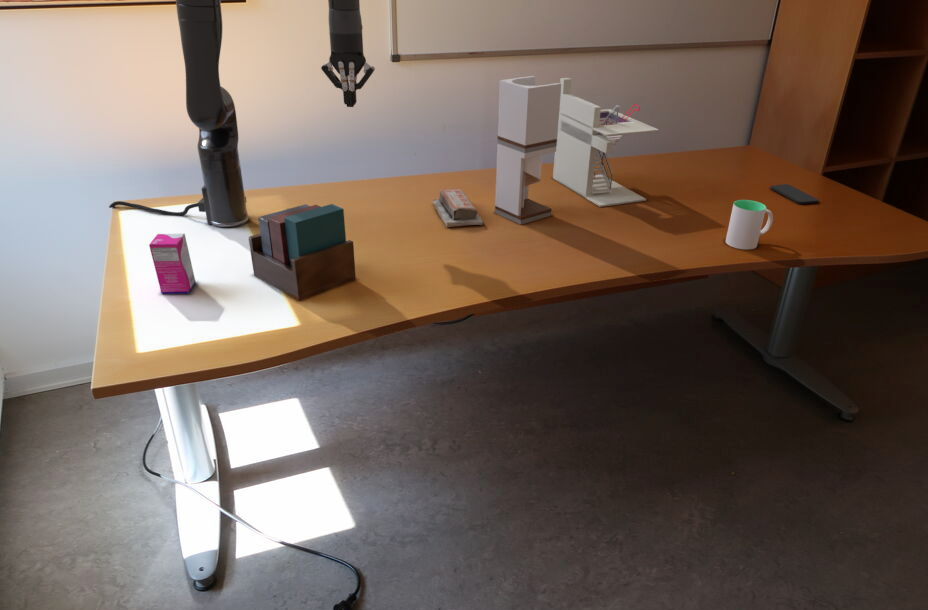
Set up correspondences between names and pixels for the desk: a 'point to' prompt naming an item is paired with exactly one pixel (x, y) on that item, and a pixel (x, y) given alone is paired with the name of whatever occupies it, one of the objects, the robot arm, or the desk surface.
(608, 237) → the desk surface
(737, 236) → the mug
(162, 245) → the supplement box
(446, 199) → the packaged product
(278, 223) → the book rack
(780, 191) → the phone
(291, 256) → the book
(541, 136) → the notched white tower
